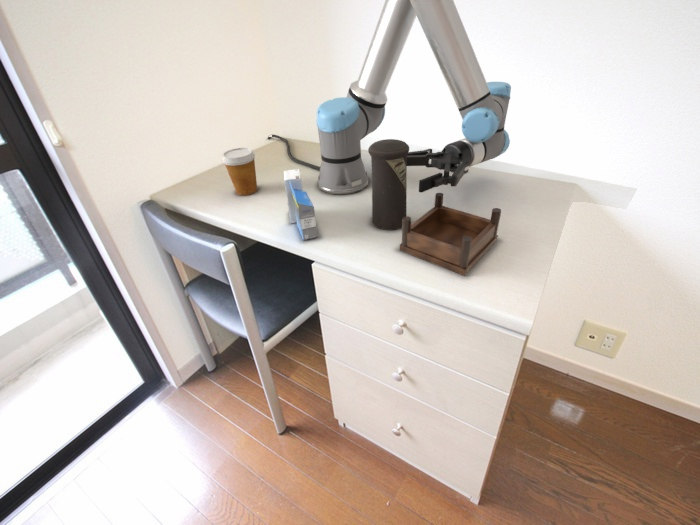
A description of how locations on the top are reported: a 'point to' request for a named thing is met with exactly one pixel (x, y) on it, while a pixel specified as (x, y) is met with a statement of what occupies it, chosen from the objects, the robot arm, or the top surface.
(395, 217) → the container
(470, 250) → the wooden tray
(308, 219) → the tape cartridge
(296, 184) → the cosmetic box
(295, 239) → the top surface
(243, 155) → the disposable coffee cup
